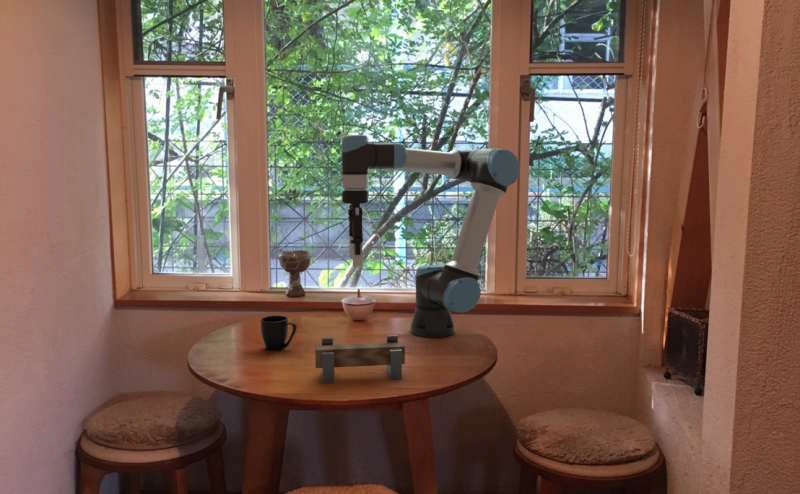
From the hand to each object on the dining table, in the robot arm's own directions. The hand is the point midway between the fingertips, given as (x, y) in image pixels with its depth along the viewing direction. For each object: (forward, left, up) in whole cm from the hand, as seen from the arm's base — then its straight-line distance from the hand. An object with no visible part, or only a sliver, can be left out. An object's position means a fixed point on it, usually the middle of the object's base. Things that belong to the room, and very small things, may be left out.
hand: (355, 262), depth 183 cm
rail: (0, +17, -25) cm, 30 cm away
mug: (+23, -11, -29) cm, 39 cm away
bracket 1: (+9, +17, -29) cm, 35 cm away
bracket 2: (-9, +17, -29) cm, 35 cm away
